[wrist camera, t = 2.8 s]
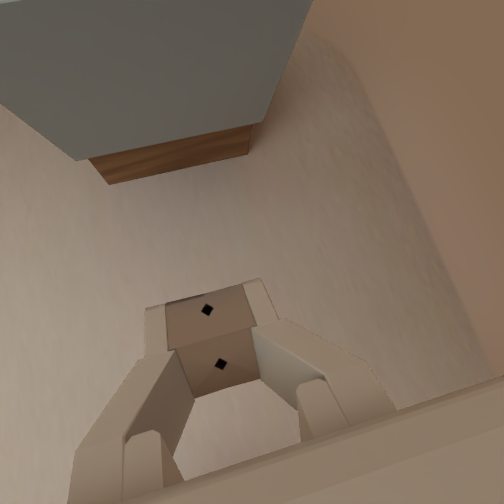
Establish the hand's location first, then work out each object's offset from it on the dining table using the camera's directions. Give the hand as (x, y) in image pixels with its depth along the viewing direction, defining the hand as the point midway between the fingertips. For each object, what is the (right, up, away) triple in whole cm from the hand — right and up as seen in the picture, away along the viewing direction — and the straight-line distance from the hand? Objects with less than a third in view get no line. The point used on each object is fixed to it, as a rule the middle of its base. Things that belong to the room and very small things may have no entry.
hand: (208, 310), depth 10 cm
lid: (-4, +11, +11) cm, 16 cm away
